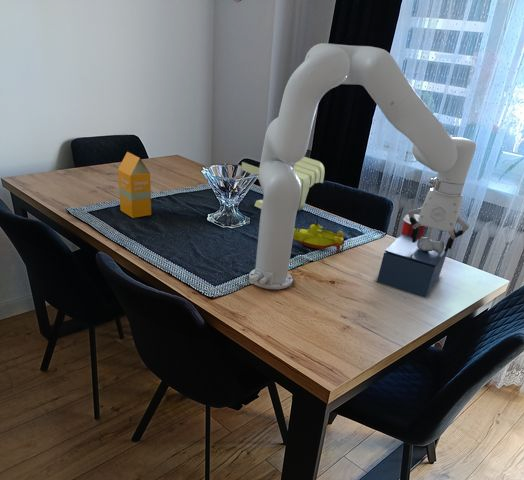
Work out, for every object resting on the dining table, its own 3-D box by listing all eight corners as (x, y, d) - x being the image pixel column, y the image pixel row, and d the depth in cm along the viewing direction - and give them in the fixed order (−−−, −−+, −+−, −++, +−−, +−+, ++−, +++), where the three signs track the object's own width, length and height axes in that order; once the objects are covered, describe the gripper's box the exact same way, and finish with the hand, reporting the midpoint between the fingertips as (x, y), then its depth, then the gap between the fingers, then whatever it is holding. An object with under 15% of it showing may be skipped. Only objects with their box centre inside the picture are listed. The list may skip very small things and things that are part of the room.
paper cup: (420, 258, 168) (432, 218, 160) (409, 264, 163) (421, 223, 155) (400, 250, 172) (411, 211, 164) (389, 256, 167) (399, 215, 160)
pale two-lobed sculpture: (412, 252, 148) (421, 243, 150) (437, 261, 143) (446, 252, 145) (413, 240, 144) (423, 231, 147) (438, 248, 140) (448, 239, 142)
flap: (409, 259, 141) (409, 257, 141) (384, 251, 144) (385, 250, 144) (423, 242, 154) (424, 240, 154) (401, 235, 156) (401, 234, 156)
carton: (425, 297, 144) (435, 265, 138) (376, 282, 149) (384, 250, 144) (438, 277, 157) (448, 247, 151) (393, 264, 162) (401, 234, 156)
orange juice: (132, 218, 173) (129, 158, 162) (120, 210, 178) (116, 152, 167) (151, 214, 177) (150, 156, 166) (139, 207, 183) (137, 150, 171)
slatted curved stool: (268, 222, 183) (273, 173, 173) (238, 209, 191) (242, 161, 181) (318, 208, 202) (326, 163, 192) (289, 197, 210) (295, 153, 200)
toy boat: (341, 255, 163) (347, 226, 158) (288, 246, 166) (292, 217, 160) (343, 248, 169) (349, 220, 163) (291, 239, 171) (295, 211, 165)
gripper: (413, 182, 136) (397, 241, 145) (478, 197, 129) (457, 258, 139) (420, 177, 141) (405, 234, 151) (482, 191, 135) (462, 250, 145)
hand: (430, 245), depth 145 cm, fingers open, 9 cm apart
